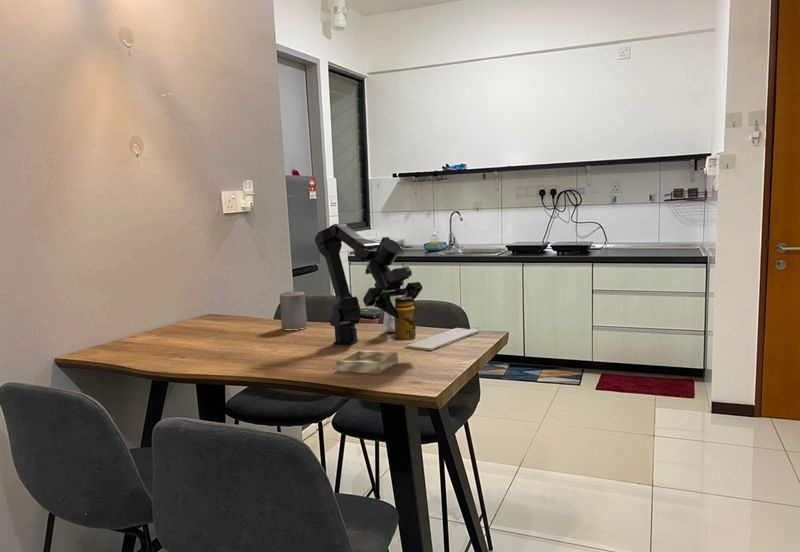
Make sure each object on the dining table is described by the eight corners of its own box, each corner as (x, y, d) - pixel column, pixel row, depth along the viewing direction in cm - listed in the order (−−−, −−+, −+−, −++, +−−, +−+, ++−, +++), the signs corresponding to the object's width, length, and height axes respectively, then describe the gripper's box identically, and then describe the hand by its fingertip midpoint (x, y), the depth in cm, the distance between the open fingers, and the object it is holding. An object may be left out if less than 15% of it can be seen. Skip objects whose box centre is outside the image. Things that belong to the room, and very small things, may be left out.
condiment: (418, 340, 170) (417, 299, 169) (389, 342, 169) (387, 301, 168) (415, 334, 178) (413, 295, 176) (386, 336, 177) (384, 297, 175)
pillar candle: (286, 326, 235) (283, 288, 233) (310, 325, 234) (307, 288, 232) (278, 331, 226) (275, 292, 224) (302, 331, 224) (300, 291, 222)
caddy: (337, 370, 165) (336, 360, 165) (358, 359, 177) (357, 350, 177) (379, 374, 160) (379, 363, 160) (398, 362, 172) (397, 352, 172)
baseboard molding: (399, 349, 191) (430, 353, 184) (399, 340, 191) (430, 344, 184) (450, 331, 216) (479, 334, 209) (450, 323, 215) (479, 326, 208)
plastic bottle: (404, 331, 216) (402, 276, 214) (394, 334, 210) (392, 279, 208) (390, 329, 219) (387, 276, 217) (379, 333, 214) (377, 278, 211)
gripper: (367, 260, 169) (391, 302, 161) (418, 255, 180) (442, 294, 172) (353, 285, 176) (375, 327, 168) (403, 278, 187) (426, 318, 179)
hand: (406, 316), depth 172 cm, fingers closed on condiment, 6 cm apart
